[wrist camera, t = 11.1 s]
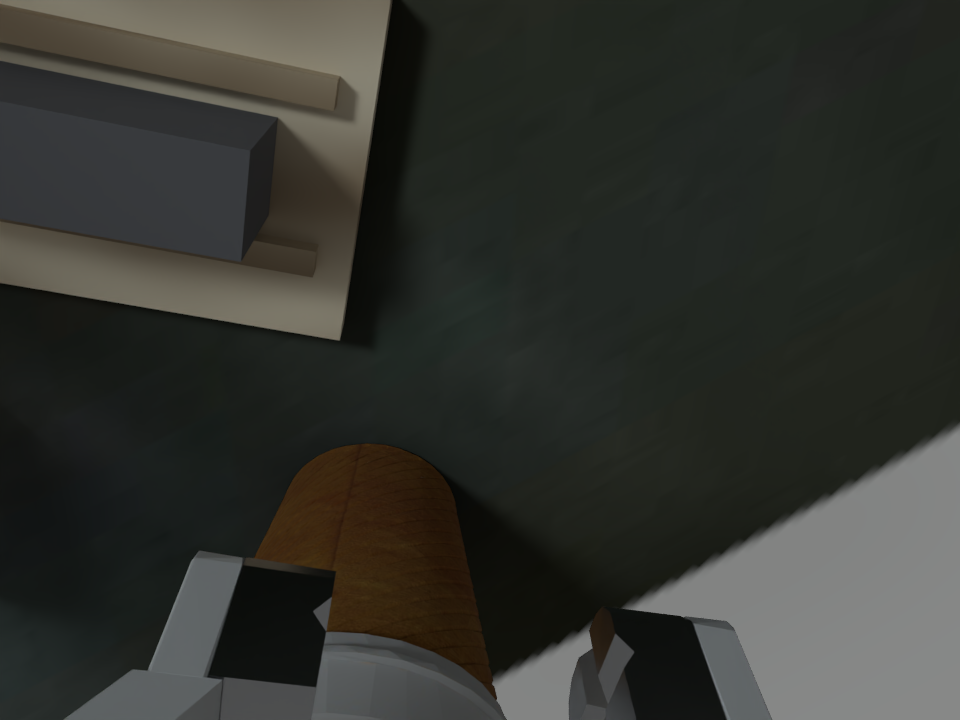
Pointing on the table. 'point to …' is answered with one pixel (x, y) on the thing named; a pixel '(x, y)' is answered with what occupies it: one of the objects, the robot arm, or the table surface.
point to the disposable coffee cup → (387, 587)
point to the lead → (132, 163)
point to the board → (236, 84)
